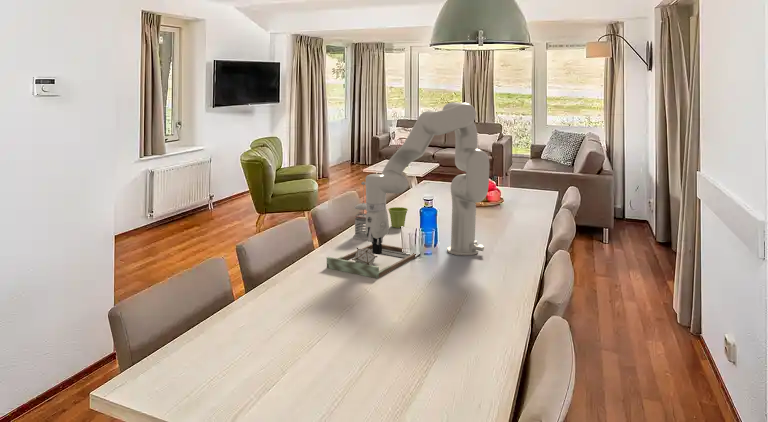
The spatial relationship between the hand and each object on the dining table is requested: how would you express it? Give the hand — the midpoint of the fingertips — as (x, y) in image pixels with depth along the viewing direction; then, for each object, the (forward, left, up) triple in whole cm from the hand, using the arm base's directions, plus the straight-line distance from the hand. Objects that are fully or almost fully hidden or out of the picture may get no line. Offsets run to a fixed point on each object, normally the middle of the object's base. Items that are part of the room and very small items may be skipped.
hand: (377, 253), depth 204 cm
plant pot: (+20, -51, -3) cm, 54 cm away
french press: (+23, -27, -3) cm, 35 cm away
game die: (-1, +10, -3) cm, 11 cm away
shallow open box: (0, 0, -3) cm, 3 cm away
